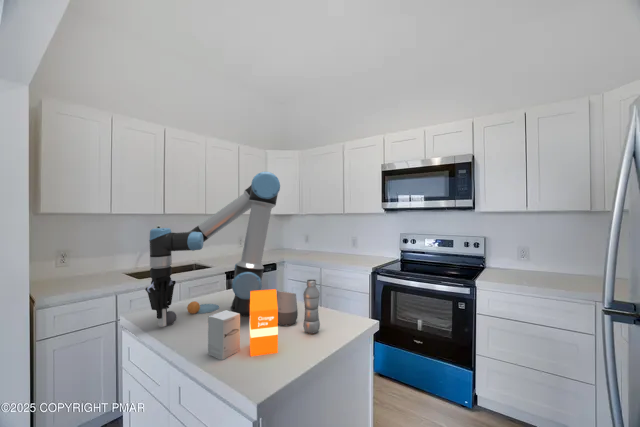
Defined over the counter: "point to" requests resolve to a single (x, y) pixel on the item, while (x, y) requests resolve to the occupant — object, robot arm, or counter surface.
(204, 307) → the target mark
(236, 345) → the supplement box
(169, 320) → the dark grey ball
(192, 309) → the object ball
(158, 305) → the robot arm
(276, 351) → the orange juice
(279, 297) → the smart speaker
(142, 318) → the counter surface
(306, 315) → the plastic bottle
